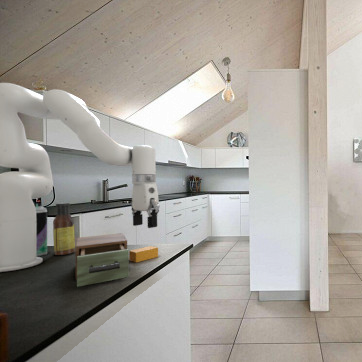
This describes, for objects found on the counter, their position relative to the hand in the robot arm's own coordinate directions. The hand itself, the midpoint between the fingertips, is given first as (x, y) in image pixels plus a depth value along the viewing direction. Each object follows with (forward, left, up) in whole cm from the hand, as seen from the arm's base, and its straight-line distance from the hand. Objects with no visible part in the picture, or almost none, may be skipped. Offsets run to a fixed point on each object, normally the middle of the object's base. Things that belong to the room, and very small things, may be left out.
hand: (145, 226), depth 94 cm
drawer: (+11, -18, -11) cm, 23 cm away
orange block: (0, 0, -12) cm, 12 cm away
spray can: (-40, -19, -12) cm, 46 cm away
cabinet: (-1, -13, -12) cm, 18 cm away
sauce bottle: (-33, -13, -12) cm, 38 cm away
